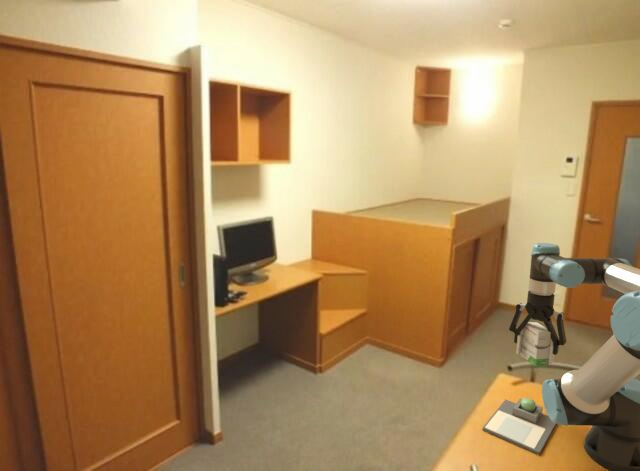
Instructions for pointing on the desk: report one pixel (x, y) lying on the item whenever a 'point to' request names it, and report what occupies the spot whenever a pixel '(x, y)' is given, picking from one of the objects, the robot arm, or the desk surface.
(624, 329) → the robot arm
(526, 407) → the button
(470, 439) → the desk surface
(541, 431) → the colouring board
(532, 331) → the ink box
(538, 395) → the desk surface
